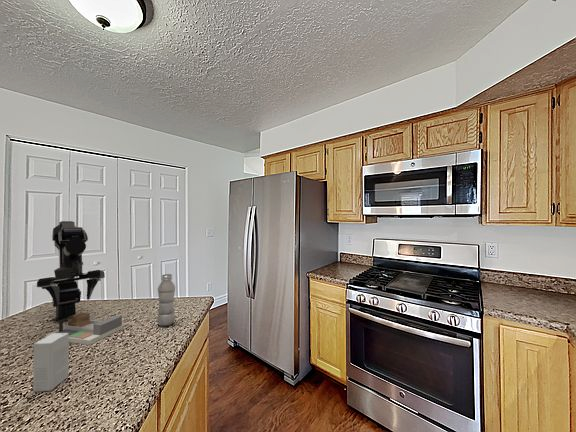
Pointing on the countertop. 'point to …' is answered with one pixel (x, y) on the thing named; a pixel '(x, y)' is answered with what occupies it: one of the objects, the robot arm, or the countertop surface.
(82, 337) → the gauge base
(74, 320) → the slider
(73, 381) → the countertop surface
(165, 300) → the plastic bottle
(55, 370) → the skincare box
